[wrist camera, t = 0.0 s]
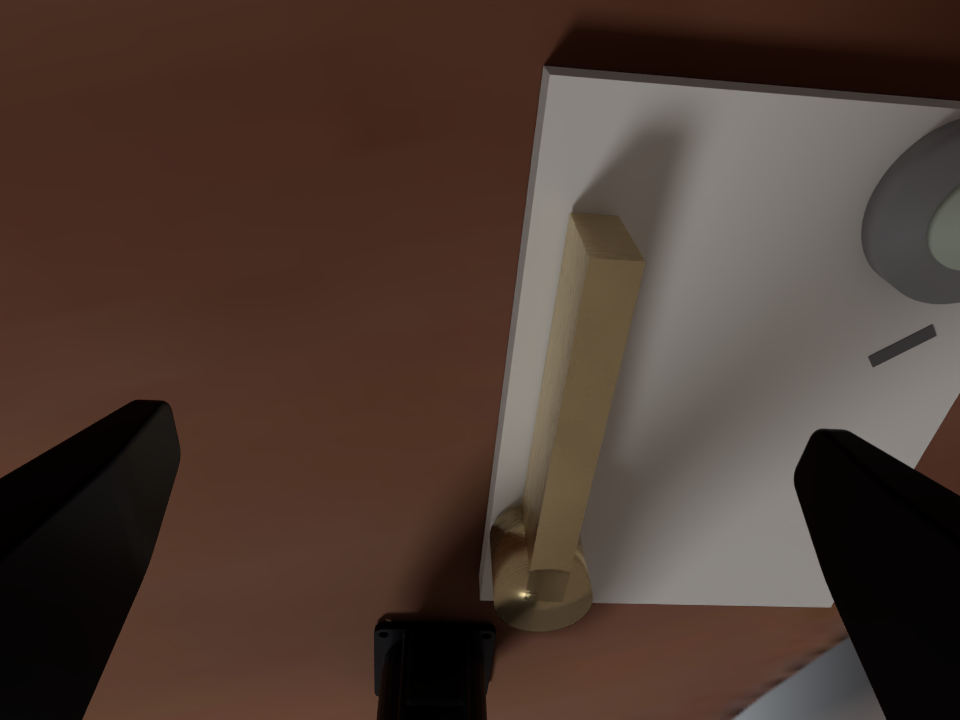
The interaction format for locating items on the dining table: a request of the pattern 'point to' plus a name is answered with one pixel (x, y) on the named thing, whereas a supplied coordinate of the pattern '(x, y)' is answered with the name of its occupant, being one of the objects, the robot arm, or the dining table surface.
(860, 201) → the base
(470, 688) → the robot arm
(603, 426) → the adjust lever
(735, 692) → the dining table surface
